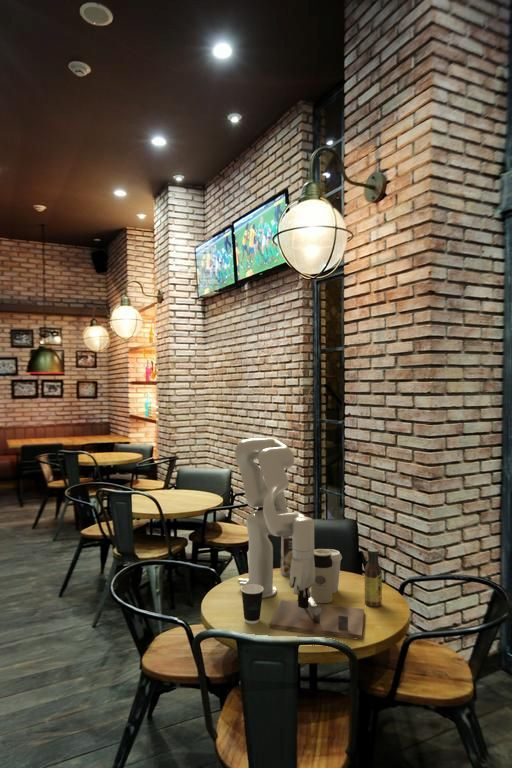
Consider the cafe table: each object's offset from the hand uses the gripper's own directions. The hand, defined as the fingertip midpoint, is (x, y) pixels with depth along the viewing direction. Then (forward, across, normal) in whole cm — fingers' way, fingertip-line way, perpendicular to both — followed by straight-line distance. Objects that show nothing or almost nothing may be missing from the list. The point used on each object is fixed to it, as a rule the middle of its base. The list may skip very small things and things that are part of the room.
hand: (303, 607), depth 175 cm
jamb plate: (+4, -2, +5) cm, 7 cm away
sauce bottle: (+4, -27, +14) cm, 31 cm away
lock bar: (+2, -2, +2) cm, 4 cm away
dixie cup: (+4, +12, -13) cm, 18 cm away
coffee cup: (+4, -28, -5) cm, 29 cm away
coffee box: (+4, -35, -27) cm, 44 cm away
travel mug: (+4, -18, -3) cm, 19 cm away
